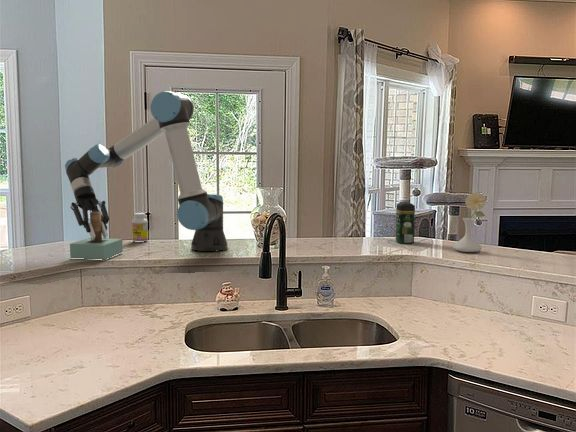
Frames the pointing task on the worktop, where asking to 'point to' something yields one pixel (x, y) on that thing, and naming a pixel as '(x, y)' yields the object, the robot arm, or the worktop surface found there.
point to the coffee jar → (405, 222)
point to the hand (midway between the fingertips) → (99, 237)
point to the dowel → (96, 226)
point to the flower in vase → (467, 241)
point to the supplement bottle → (140, 227)
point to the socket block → (96, 249)
